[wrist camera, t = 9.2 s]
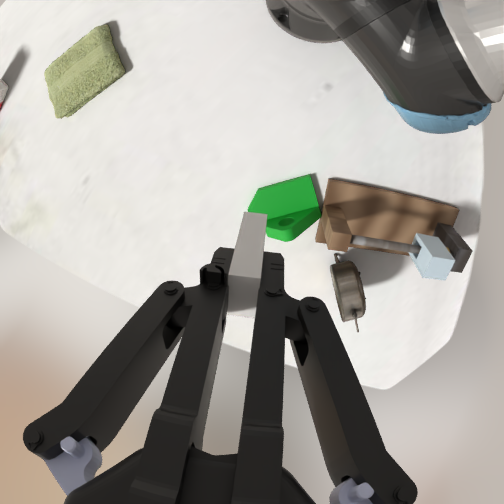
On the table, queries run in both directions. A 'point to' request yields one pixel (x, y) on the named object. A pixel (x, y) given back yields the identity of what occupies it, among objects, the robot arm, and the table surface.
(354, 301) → the alarm clock
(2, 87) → the ink box
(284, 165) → the table surface
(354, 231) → the wooden slider rail stand
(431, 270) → the light blue block
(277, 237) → the bracket
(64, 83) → the washcloth
